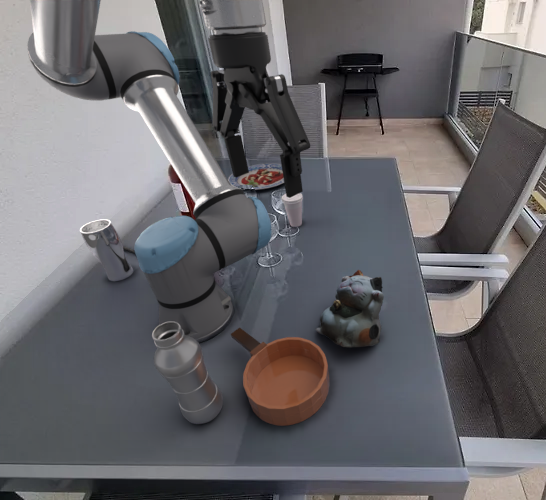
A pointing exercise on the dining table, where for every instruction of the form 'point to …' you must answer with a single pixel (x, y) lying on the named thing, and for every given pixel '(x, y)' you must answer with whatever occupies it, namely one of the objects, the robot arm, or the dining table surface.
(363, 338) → the lucky cat figurine
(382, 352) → the dining table surface
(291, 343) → the pan
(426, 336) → the dining table surface
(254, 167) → the ceramic plate
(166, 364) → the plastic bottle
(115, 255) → the silver metal cup
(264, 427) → the dining table surface
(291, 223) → the smoothie
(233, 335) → the pan handle
